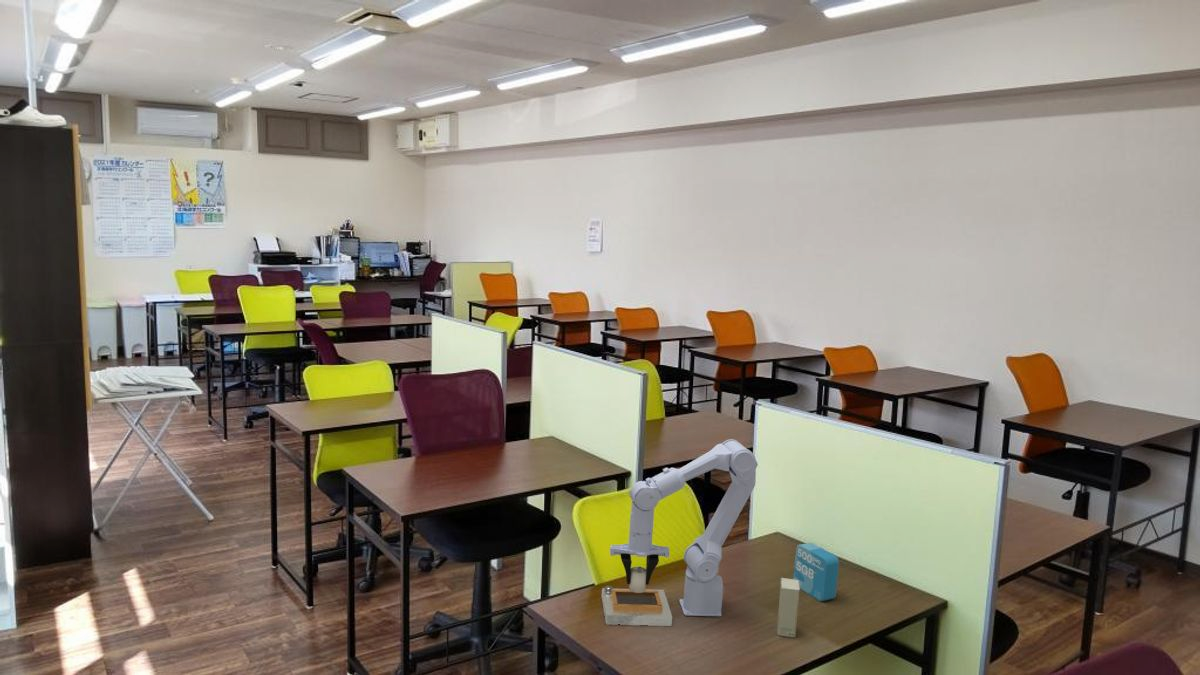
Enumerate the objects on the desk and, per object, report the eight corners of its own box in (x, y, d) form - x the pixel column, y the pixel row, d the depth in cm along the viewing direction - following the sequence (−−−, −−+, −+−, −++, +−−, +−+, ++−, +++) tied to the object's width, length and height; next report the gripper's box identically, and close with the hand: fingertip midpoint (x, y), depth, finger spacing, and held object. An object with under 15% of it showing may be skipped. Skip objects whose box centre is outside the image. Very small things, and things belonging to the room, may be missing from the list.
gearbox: (663, 598, 209) (664, 586, 209) (671, 626, 196) (672, 612, 195) (601, 597, 208) (602, 584, 208) (605, 624, 194) (606, 611, 194)
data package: (792, 584, 223) (796, 542, 221) (804, 581, 225) (809, 540, 223) (822, 603, 212) (827, 560, 210) (835, 600, 214) (840, 557, 213)
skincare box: (795, 638, 193) (800, 590, 191) (776, 635, 194) (781, 588, 192) (794, 625, 199) (799, 579, 198) (776, 623, 200) (780, 576, 198)
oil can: (643, 585, 203) (644, 562, 202) (646, 592, 199) (648, 569, 198) (627, 585, 202) (629, 562, 201) (630, 593, 198) (632, 569, 197)
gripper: (613, 536, 194) (609, 589, 196) (672, 537, 195) (668, 590, 197) (610, 524, 201) (607, 576, 203) (668, 526, 202) (664, 577, 204)
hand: (637, 582), depth 201 cm, fingers closed on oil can, 4 cm apart
